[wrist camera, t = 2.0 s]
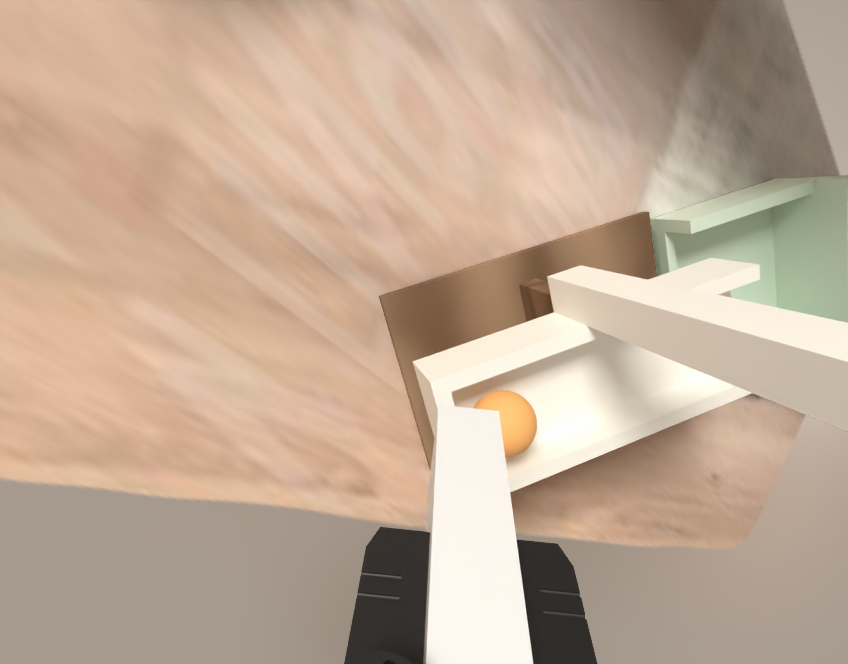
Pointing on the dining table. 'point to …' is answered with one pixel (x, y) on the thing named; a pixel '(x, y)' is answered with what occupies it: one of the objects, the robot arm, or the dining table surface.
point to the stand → (502, 296)
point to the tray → (770, 241)
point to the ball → (512, 419)
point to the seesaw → (642, 361)
